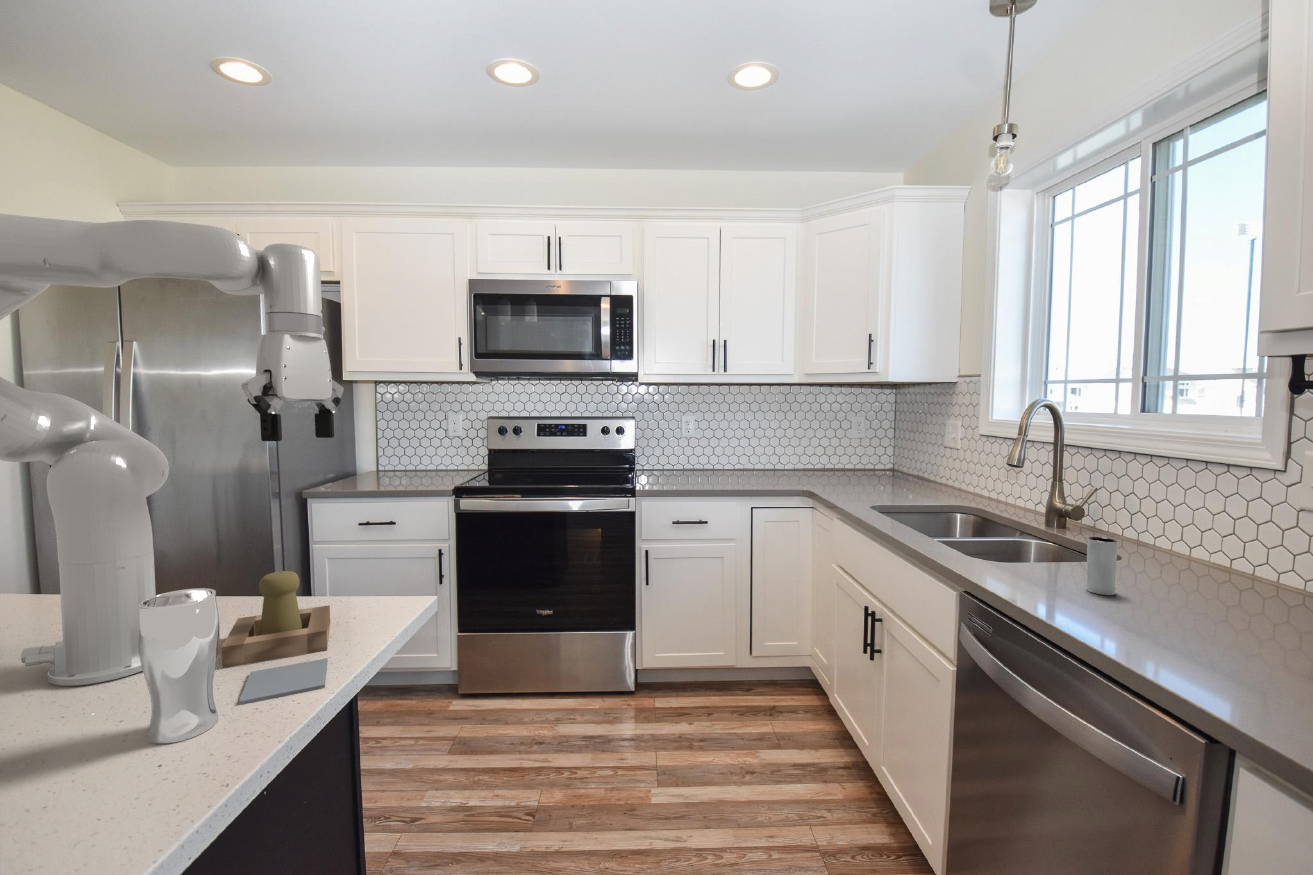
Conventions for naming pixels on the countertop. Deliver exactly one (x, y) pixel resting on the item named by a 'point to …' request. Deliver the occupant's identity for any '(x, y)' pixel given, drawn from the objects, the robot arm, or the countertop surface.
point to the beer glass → (179, 662)
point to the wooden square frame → (276, 639)
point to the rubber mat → (284, 681)
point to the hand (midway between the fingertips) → (299, 439)
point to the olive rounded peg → (279, 602)
